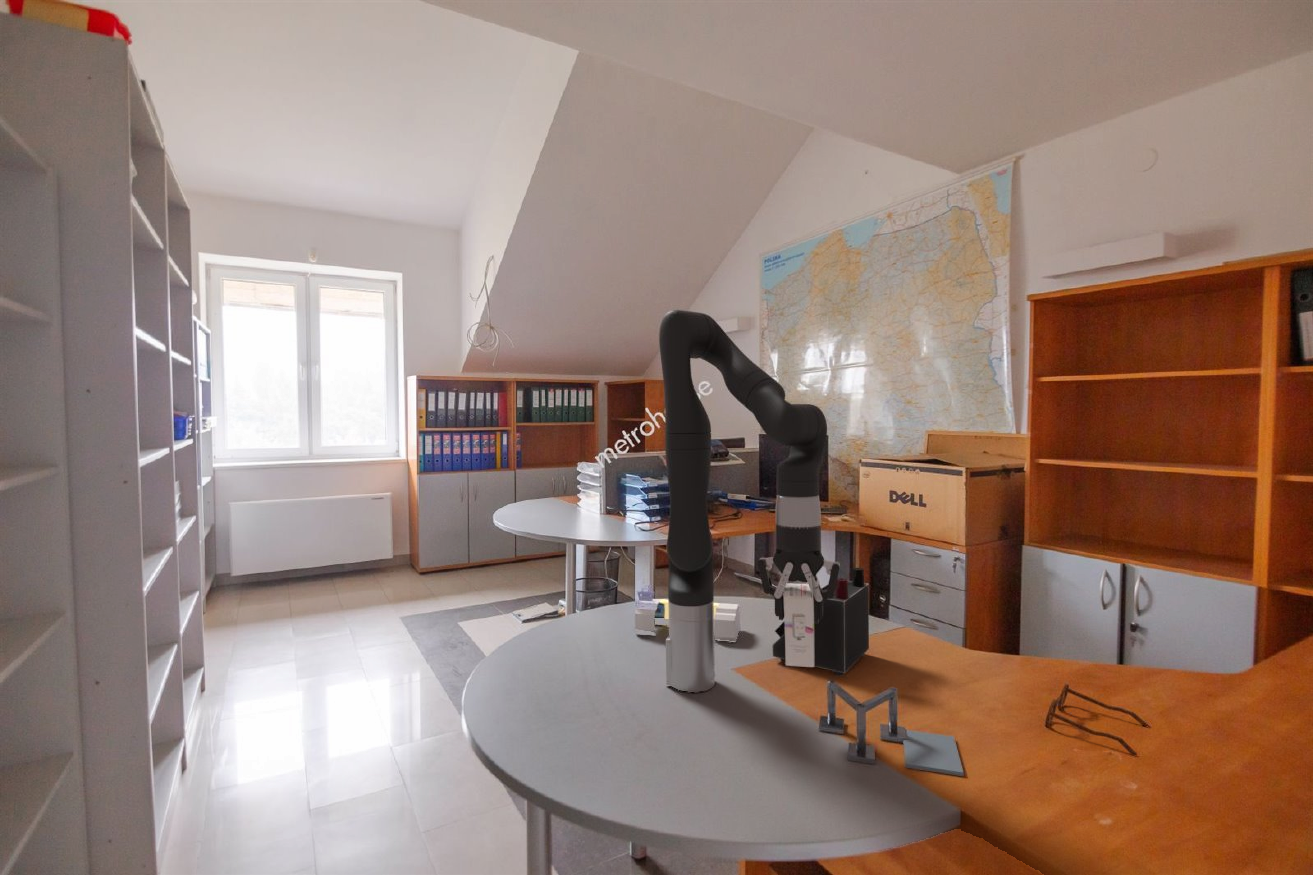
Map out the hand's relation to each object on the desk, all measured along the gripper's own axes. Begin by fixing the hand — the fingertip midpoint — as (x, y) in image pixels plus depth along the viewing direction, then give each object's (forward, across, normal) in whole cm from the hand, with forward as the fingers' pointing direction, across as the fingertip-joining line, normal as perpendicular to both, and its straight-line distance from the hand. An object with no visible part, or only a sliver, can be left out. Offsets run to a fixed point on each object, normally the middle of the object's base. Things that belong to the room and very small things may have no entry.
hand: (799, 619), depth 106 cm
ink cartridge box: (+7, 0, 0) cm, 7 cm away
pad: (+20, +20, 0) cm, 28 cm away
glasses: (+20, +48, +17) cm, 55 cm away
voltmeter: (+20, +1, +34) cm, 40 cm away
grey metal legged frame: (+20, +10, -1) cm, 22 cm away
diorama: (+20, -32, +42) cm, 56 cm away
